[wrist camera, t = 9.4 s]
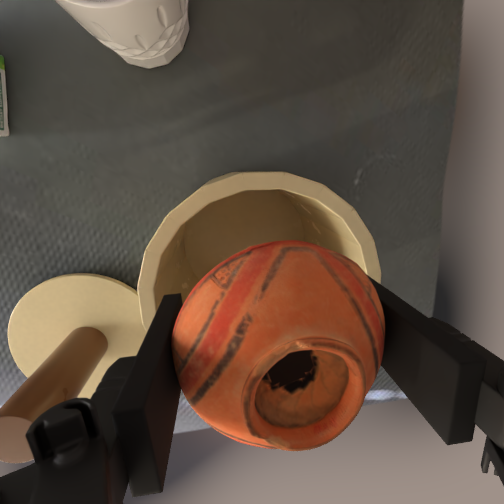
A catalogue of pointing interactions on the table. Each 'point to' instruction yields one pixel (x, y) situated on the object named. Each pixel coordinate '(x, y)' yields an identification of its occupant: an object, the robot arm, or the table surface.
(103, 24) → the white cup
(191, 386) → the pot
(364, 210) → the table surface
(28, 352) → the canister lid
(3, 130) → the syrup box
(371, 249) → the canister
